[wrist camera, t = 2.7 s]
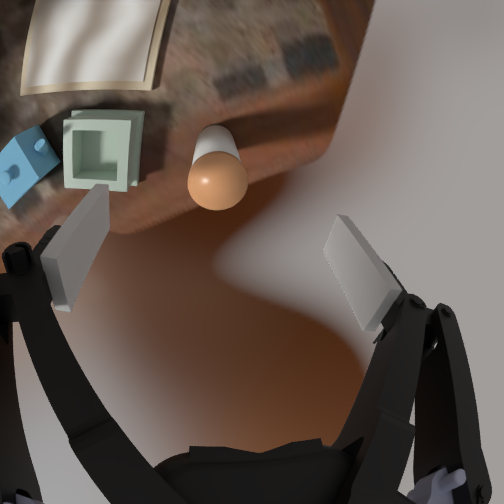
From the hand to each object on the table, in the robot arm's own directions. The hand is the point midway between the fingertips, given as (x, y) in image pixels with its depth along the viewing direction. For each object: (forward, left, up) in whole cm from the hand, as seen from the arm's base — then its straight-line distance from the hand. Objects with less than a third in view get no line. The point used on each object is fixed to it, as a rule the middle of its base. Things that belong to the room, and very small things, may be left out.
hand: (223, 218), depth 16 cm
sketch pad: (-17, +12, -19) cm, 28 cm away
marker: (0, 0, -19) cm, 19 cm away
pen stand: (-13, -2, -19) cm, 23 cm away
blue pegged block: (-23, -3, -19) cm, 30 cm away
